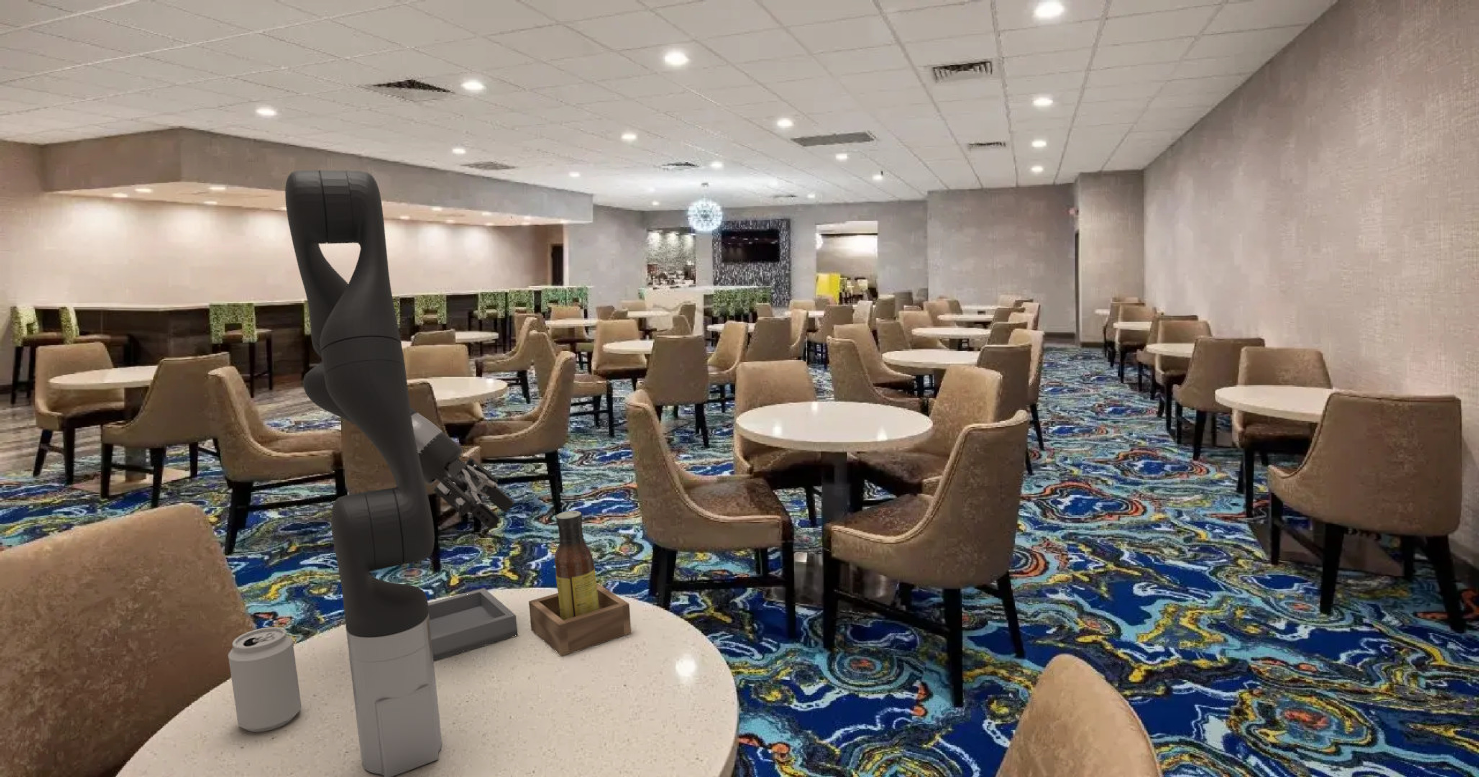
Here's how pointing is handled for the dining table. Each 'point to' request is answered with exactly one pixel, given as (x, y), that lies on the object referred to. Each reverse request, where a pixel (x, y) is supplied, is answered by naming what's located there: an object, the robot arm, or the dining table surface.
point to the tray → (468, 623)
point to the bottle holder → (580, 622)
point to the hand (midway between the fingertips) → (503, 515)
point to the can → (264, 679)
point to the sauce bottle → (574, 568)
